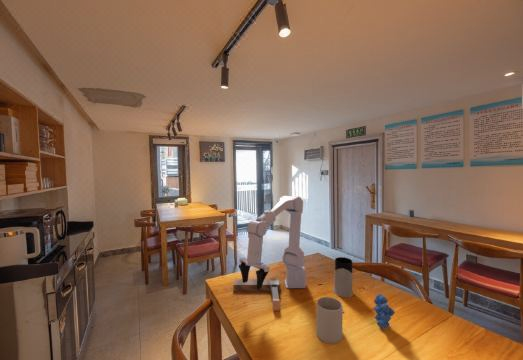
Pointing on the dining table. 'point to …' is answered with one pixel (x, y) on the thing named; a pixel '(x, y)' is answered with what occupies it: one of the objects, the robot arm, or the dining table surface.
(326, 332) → the mug
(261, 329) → the dining table surface
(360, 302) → the dining table surface
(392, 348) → the dining table surface
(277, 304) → the stool leg
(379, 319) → the grapes
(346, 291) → the glass holder
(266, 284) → the rail
